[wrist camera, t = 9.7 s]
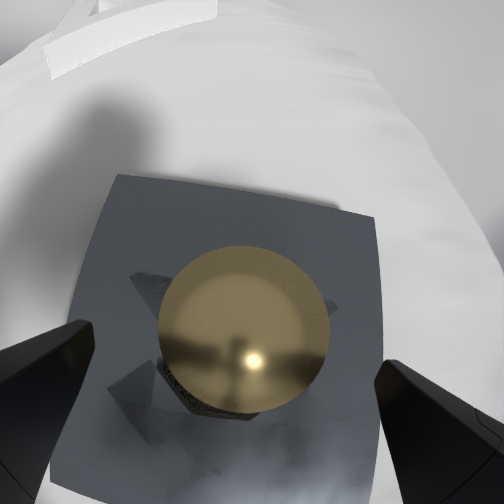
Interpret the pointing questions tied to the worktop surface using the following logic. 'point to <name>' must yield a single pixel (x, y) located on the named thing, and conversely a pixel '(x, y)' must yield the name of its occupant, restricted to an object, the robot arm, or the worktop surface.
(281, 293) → the cylinder
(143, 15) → the triangle block
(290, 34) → the worktop surface
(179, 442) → the grey octagonal hole plate
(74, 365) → the robot arm
